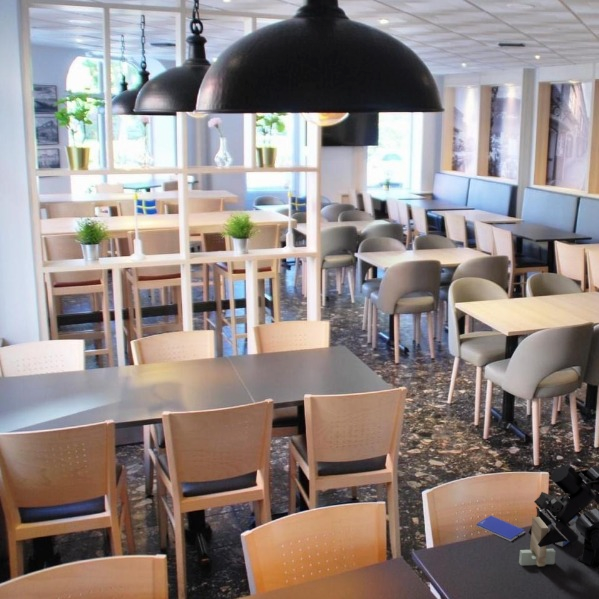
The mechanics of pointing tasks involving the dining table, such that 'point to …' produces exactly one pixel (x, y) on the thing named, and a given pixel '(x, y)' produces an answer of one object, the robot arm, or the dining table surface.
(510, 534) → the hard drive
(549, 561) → the pale green u-shaped block
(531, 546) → the birch plate
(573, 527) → the medicine box
